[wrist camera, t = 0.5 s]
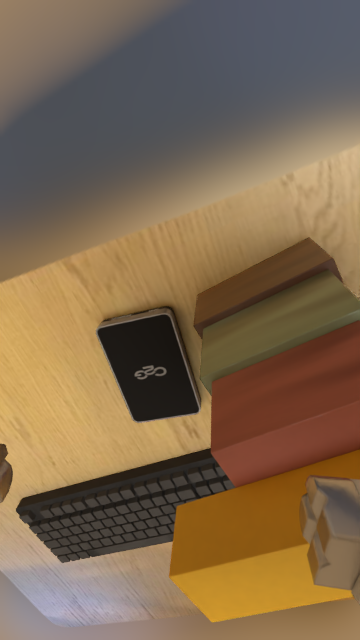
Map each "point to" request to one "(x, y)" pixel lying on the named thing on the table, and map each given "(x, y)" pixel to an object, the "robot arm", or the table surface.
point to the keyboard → (121, 507)
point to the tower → (281, 364)
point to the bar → (252, 545)
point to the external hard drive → (150, 364)
